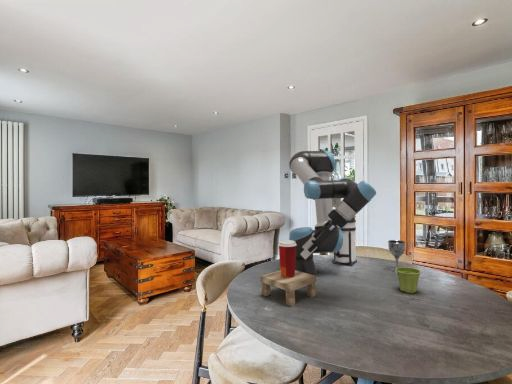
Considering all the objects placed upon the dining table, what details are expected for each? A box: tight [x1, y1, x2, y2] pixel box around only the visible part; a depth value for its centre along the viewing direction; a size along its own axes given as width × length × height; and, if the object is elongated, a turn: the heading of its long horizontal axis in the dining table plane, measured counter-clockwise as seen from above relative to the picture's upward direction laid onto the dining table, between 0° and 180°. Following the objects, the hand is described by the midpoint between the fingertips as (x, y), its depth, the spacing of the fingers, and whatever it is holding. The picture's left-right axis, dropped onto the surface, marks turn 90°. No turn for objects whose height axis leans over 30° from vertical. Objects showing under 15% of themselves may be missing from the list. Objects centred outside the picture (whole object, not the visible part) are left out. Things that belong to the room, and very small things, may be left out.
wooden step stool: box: [260, 269, 317, 307], centre depth 117 cm, size 16×16×8 cm
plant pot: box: [395, 266, 422, 294], centre depth 120 cm, size 9×9×9 cm
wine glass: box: [387, 239, 406, 273], centre depth 149 cm, size 8×8×15 cm
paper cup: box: [277, 239, 297, 278], centre depth 117 cm, size 8×8×14 cm
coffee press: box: [331, 217, 358, 267], centre depth 163 cm, size 17×16×30 cm
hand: (303, 252), depth 115 cm, fingers open, 13 cm apart
